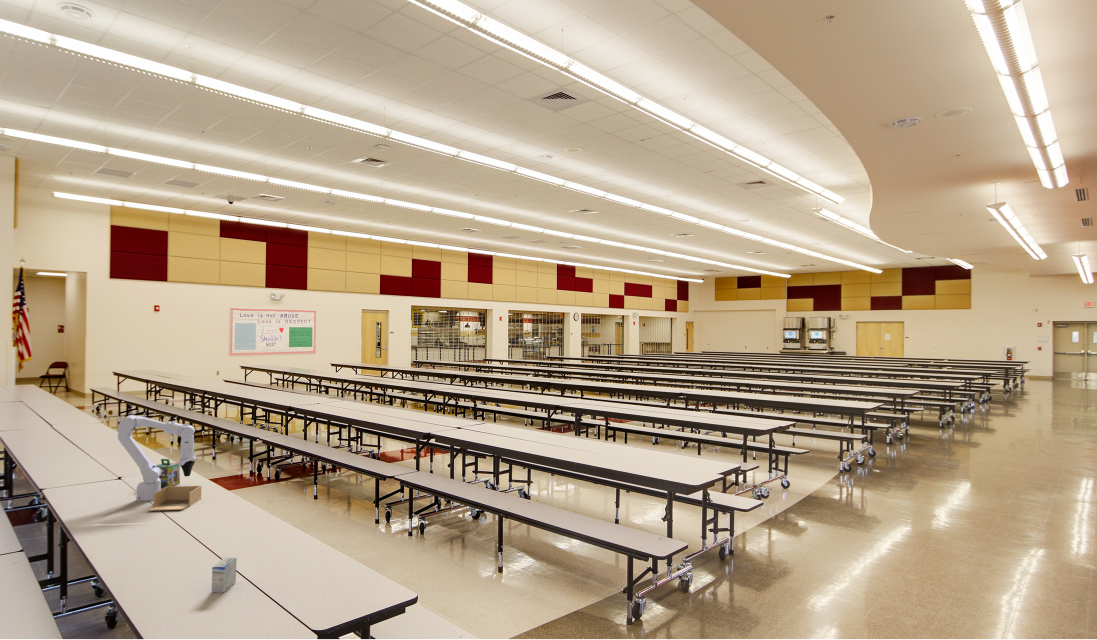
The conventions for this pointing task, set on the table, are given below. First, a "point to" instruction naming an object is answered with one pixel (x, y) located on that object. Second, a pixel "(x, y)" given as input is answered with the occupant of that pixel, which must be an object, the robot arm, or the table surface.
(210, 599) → the table surface
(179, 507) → the flap
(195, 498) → the carton
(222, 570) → the medicine box
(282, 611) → the table surface
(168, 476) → the chalk box
